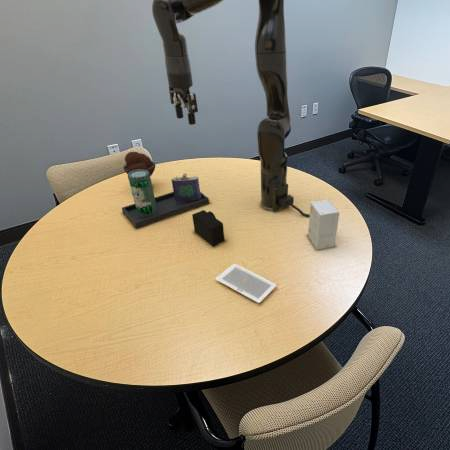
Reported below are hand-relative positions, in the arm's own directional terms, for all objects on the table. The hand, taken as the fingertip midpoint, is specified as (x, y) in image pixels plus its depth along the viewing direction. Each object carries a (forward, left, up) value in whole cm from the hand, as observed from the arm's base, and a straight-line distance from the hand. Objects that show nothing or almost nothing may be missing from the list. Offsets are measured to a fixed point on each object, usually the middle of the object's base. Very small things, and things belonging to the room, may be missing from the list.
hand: (186, 121), depth 117 cm
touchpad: (-56, +15, -27) cm, 64 cm away
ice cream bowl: (+12, +15, -27) cm, 33 cm away
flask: (-7, +7, -26) cm, 28 cm away
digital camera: (-31, +11, -27) cm, 42 cm away
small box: (-55, -15, -27) cm, 63 cm away
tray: (-7, +15, -27) cm, 31 cm away
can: (-7, +22, -26) cm, 35 cm away
